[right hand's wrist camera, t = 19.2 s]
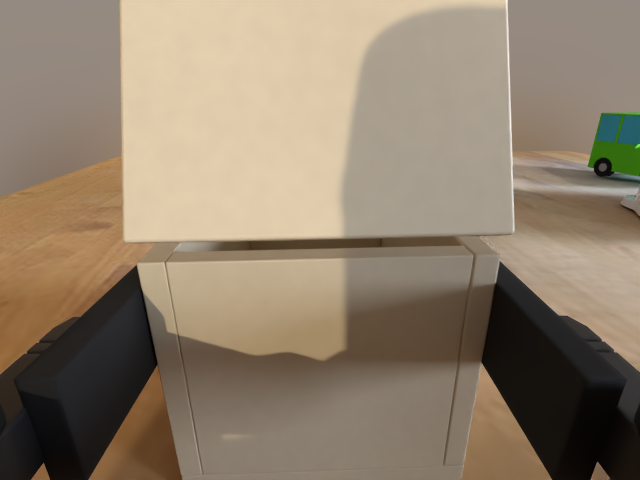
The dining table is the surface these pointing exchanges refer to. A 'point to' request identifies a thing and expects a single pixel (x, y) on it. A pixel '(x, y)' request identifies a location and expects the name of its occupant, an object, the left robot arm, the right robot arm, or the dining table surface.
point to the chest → (320, 354)
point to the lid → (314, 119)
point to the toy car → (617, 144)
